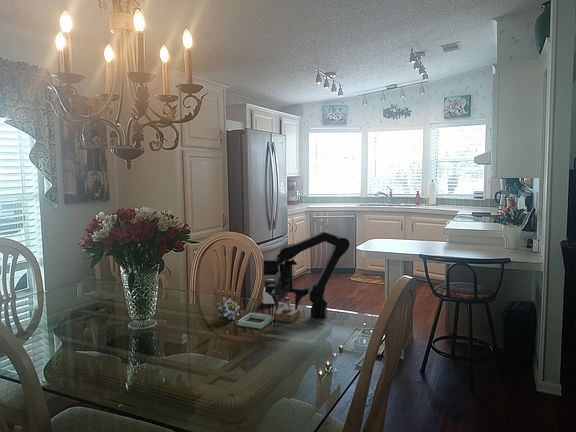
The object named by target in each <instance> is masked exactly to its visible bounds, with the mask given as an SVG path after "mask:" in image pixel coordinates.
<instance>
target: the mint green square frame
mask: <svg viewBox="0 0 576 432" xmlns="http://www.w3.org/2000/svg"><path fill="white" fill-rule="evenodd" d="M250 319H256V320H263V321H261V322H254V321H249V320H250ZM272 321H273V315H269V314H262V313H255V312H254V313H253V312H249V313H247V314H246V315H245V316H243V317H241V318H240V319H239V320H237V325H238V326H240V327H247V328H254V329H255V328H256V329H260V330H262V329H263V328H265V326H267V325H268V324H270V323H271V322H272Z"/></svg>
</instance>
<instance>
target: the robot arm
mask: <svg viewBox="0 0 576 432" xmlns="http://www.w3.org/2000/svg"><path fill="white" fill-rule="evenodd" d="M324 242H326V243H328V244H330V245H332V247H331V252H330V255H329V256H328V259H327V260H326V263H325V265H324V267H323V269H322V271H321V273H320V274H319V276H318V278H317V280H316V281H315V282H311V283H310V285H309V287H307V286H298V287H297V288H294V287H295V285H294V280H293V279H294V278H295V276H294V275H293V274H294V273H293V271H294V270H293V266H297V265H298V264H297V261H296V260H295V259H294V258H295V257H296V256H297V255H299V254H300V253H301V252H304V251H306V250H309V249H310V248H313V247H315V246H317V245H320V244H322V243H324ZM349 248H350V241H349V240H348V238H346V237H345V236H343V235H339V236H338V235H334V234H332V233H329V232H326V231H324V230H322V231H321V232H319V233H317V234H314V235H312V236H310V237H308V238H306V239H303V240H301V241H298V242H296V243H290V244H285V245H282V246H281V247H280V248H279V250H278V254H277V255H276V257H275V258H274V259H263V261H262V262H263V266H262V275H263V276H276V275H277V274H278V273H279V277H278V279H277V280H278V281H277V284H269V285H268V286H266V287H265V286H264V288H265V292H266V293H268V294H269V295H271V296H272V298H273V300H274V302H275V307H276V308H278V309H279V304H280V302H279V301H280V300H279V298H280V296H285V295H286V294H287V293H293V294H295V296H294V301H295V303H294V307H295V310H297V309H299V306H300V303H301V300H302V299H303V297H305V296H306V295H307V296H308V299H309V301H310V303H312V304H311V307H310V317H313V318H315V319H326V318H327V317H328V302H327V300H326V299H325V297H324V295H325V288H326V285H327V283H328V281H329V280H330V279H331V275H332V274H333V272H334V270H335V268H336V266H337V264H338V262H339V260H340V259H341V257H342V256H344V255H345V253H346V252H347V251H348V250H349Z"/></svg>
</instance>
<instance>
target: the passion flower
mask: <svg viewBox="0 0 576 432" xmlns="http://www.w3.org/2000/svg"><path fill="white" fill-rule="evenodd" d="M237 303H238V302H237V301H236V300H233V299H232V298H231V297H230V298H225V297H224V296H222V302H221V303H220V302H217V304H216V305H215V307H216V309H217V313H219V316H220V318H221V317H222V318H225V317H226V318H227V320H228V321H235V320H236V316H238V317H239V316H240V313H239V311H240V307H241V306H240V305H238V304H237Z"/></svg>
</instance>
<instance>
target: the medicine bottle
mask: <svg viewBox="0 0 576 432" xmlns="http://www.w3.org/2000/svg"><path fill="white" fill-rule="evenodd" d="M277 283H278V281H277V280H276V279H266V280H264V288H263V292H262V301H263V302H262V303H263V304H264V305H272V304H273V305H274V304H275V303H274V300H273V298H272V296H271V295H269V294H268V293H266V292H265V287H266V286H268V285H269V284H277Z"/></svg>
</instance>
